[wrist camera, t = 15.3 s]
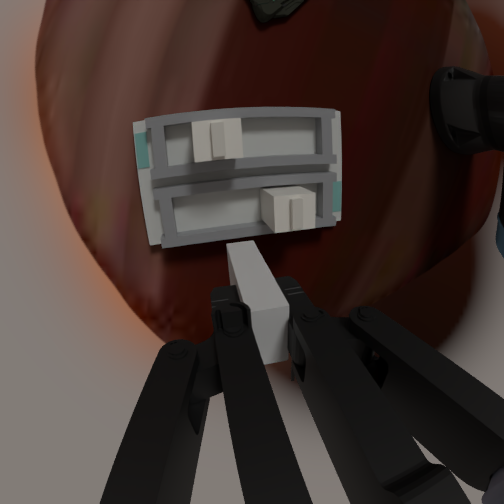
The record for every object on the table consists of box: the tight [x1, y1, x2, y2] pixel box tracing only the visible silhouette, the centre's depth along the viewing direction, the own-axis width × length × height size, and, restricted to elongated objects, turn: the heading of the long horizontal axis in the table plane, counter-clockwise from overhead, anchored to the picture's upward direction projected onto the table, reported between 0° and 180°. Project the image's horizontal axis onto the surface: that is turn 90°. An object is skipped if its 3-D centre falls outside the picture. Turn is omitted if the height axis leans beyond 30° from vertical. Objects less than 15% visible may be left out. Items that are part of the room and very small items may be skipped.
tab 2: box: [260, 185, 315, 233], centre depth 27 cm, size 4×3×6 cm
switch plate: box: [133, 107, 342, 248], centre depth 28 cm, size 22×13×3 cm, turn 94°
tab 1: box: [191, 118, 243, 162], centre depth 23 cm, size 4×3×6 cm
